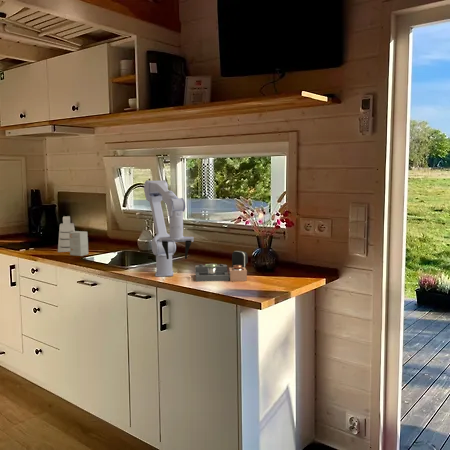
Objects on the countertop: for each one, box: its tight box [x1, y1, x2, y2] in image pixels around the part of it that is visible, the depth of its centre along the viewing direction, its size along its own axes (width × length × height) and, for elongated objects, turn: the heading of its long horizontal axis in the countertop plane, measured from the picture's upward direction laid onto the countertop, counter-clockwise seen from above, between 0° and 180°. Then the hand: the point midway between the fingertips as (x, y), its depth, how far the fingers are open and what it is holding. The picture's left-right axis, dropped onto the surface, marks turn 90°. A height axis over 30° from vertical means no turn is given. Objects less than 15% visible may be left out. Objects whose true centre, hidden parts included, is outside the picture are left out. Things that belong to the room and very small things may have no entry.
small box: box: [69, 230, 89, 257], centre depth 276 cm, size 8×6×13 cm
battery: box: [231, 250, 249, 269], centre depth 219 cm, size 7×4×11 cm, turn 47°
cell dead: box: [233, 265, 242, 270], centre depth 211 cm, size 4×4×6 cm
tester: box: [194, 263, 230, 282], centre depth 214 cm, size 13×14×6 cm
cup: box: [228, 267, 248, 282], centre depth 212 cm, size 7×7×5 cm
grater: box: [57, 215, 76, 253], centre depth 291 cm, size 10×10×20 cm
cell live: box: [207, 263, 217, 275], centre depth 213 cm, size 4×4×6 cm
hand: (176, 258), depth 210 cm, fingers open, 7 cm apart
